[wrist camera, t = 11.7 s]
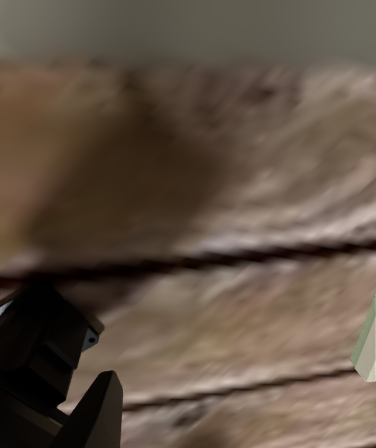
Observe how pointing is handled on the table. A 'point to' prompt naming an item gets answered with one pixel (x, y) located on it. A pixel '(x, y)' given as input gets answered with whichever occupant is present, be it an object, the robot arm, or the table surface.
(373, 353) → the top slab
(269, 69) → the table surface
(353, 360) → the bottom slab
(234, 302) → the table surface
